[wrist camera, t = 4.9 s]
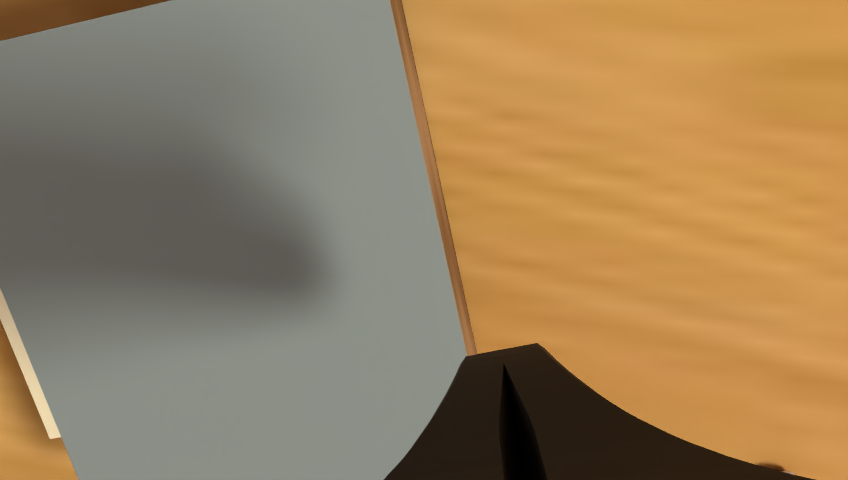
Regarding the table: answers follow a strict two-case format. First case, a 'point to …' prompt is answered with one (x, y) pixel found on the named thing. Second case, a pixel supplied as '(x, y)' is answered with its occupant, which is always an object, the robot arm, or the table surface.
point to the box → (433, 173)
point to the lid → (223, 242)
